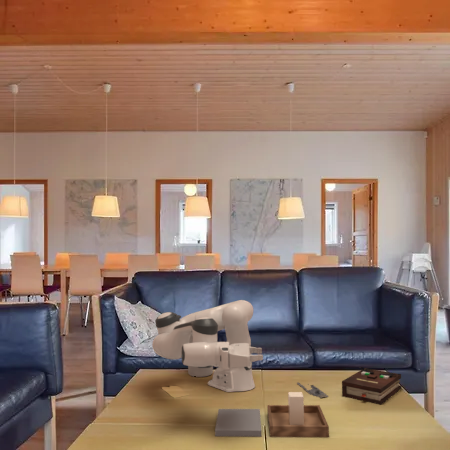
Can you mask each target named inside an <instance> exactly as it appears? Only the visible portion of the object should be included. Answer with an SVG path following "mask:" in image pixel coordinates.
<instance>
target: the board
mask: <svg viewBox="0 0 450 450" xmlns="http://www.w3.org/2000/svg"><path fill="white" fill-rule="evenodd" d="M215 423H216V424H215V430H214V437H248V438H249V437H255V438H257V437H259V438H260V437H262V435H263V434H262V420H261V409H260V408H218V411H217V416H216V422H215Z"/></svg>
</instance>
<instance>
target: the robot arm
mask: <svg viewBox="0 0 450 450" xmlns="http://www.w3.org/2000/svg"><path fill="white" fill-rule="evenodd" d="M253 315H254V306H253V305H252V303H251V302H250V301H247V300H244V299H240V300H238V299H237V300H236V301H231V302H228V303H225V304H221V305H218V306H215V307H211V308H207V309H203V310H200V311H199V310H198V311H196V312H195V311H194V312H192V313H190V314H187V315H184V316H181V315H180V314H177V313H176V312H172V311H168V312H163V313H161V314H160V315H158V316H157V317H156V318H155V327H156V329H157V334H158V335H156V336H155V337H154V338H153V341H152V345H151V346H152V350H153V351H154V352H155V353H156V355H158V356H160V357H162V358H164V359H167V360H179V359H181V363H182V365H184V366H187V367H188V366H195V367H198V368H211V367H212V366H213V367H215V369H214V370H213V373H212V379H210V380H208V381H207V385H208V386H210V387H212V388H216V389H218V390H222V391H223V392H227V393H230V392H231V393H233V392H245V391H250V390H253V389H255V387H256V385H255V381H254V377H253V369H252V368H253V367H252V366H253V363H254V362H258V361H263V360H264V356H263V348H262V347H254V346H251V345H252V343H251V342H252V341H251V339H252V338H251V337H250V332H249V325H248V323H249V321H251V319H252V318H253ZM222 330H224V331H225V336H226V341H218V332H219V331H222ZM190 336H193V343H189V340H190Z"/></svg>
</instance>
